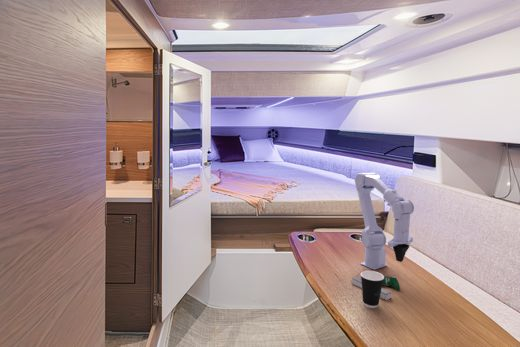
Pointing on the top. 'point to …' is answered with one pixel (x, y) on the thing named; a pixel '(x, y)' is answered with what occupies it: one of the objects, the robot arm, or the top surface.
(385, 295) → the bar
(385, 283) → the gaming controller
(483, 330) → the top surface
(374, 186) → the robot arm
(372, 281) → the dixie cup
